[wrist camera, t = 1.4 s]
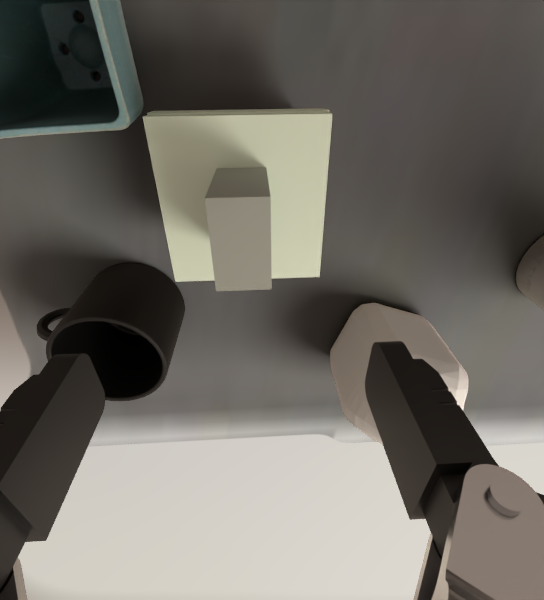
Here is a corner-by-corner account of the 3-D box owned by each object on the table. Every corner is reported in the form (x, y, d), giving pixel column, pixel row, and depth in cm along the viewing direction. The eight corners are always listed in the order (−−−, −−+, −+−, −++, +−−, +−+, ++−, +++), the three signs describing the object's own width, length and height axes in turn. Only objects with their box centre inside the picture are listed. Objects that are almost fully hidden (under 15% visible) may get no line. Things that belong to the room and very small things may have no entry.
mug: (56, 250, 31) (-6, 306, 24) (187, 268, 33) (167, 325, 25) (71, 329, 36) (23, 395, 29) (183, 340, 38) (166, 406, 30)
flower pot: (-10, -38, 20) (-160, -105, 13) (134, -48, 20) (65, -121, 13) (52, 122, 25) (-32, 141, 18) (167, 114, 25) (132, 129, 18)
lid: (326, 108, 21) (363, 124, 14) (315, 262, 27) (337, 328, 20) (151, 110, 20) (98, 128, 13) (180, 266, 26) (154, 335, 19)
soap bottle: (433, 312, 37) (618, 555, 18) (389, 371, 42) (500, 610, 23) (356, 291, 35) (477, 539, 16) (320, 355, 40) (380, 603, 21)
